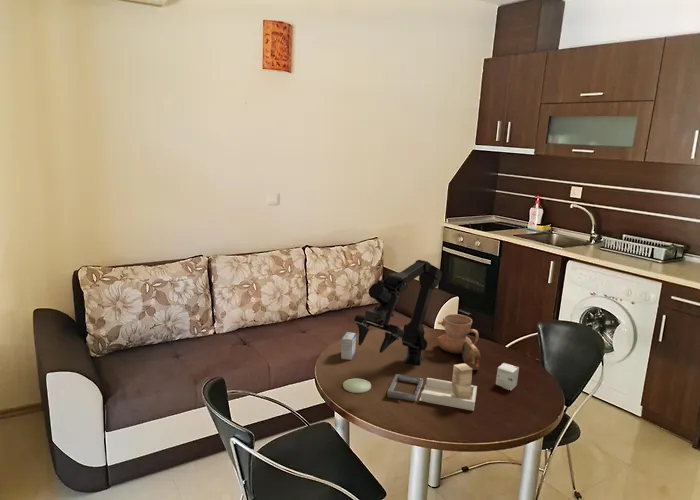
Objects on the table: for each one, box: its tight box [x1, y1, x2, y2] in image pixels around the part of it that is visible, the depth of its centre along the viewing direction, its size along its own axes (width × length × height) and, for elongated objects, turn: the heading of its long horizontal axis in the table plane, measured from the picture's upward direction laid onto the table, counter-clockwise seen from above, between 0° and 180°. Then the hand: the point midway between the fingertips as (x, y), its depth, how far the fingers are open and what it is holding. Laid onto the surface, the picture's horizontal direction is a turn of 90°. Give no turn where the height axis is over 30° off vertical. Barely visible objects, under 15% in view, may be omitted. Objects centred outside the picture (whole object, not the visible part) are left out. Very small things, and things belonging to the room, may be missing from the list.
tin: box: [461, 341, 482, 371], centre depth 203 cm, size 15×3×8 cm, turn 5°
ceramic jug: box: [437, 313, 480, 355], centre depth 217 cm, size 18×14×14 cm
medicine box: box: [340, 331, 357, 361], centre depth 208 cm, size 8×4×9 cm, turn 168°
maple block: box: [451, 362, 473, 400], centre depth 174 cm, size 4×4×12 cm
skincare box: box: [495, 362, 520, 392], centre depth 187 cm, size 6×6×7 cm
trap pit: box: [386, 373, 424, 402], centre depth 181 cm, size 14×10×2 cm
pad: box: [342, 377, 372, 394], centre depth 183 cm, size 10×10×1 cm
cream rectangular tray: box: [419, 377, 478, 412], centre depth 176 cm, size 12×18×4 cm, turn 72°
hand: (369, 348), depth 179 cm, fingers open, 9 cm apart
